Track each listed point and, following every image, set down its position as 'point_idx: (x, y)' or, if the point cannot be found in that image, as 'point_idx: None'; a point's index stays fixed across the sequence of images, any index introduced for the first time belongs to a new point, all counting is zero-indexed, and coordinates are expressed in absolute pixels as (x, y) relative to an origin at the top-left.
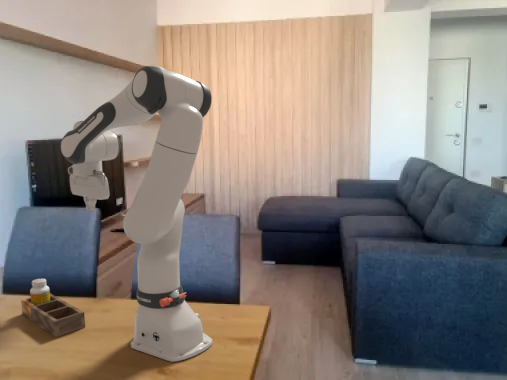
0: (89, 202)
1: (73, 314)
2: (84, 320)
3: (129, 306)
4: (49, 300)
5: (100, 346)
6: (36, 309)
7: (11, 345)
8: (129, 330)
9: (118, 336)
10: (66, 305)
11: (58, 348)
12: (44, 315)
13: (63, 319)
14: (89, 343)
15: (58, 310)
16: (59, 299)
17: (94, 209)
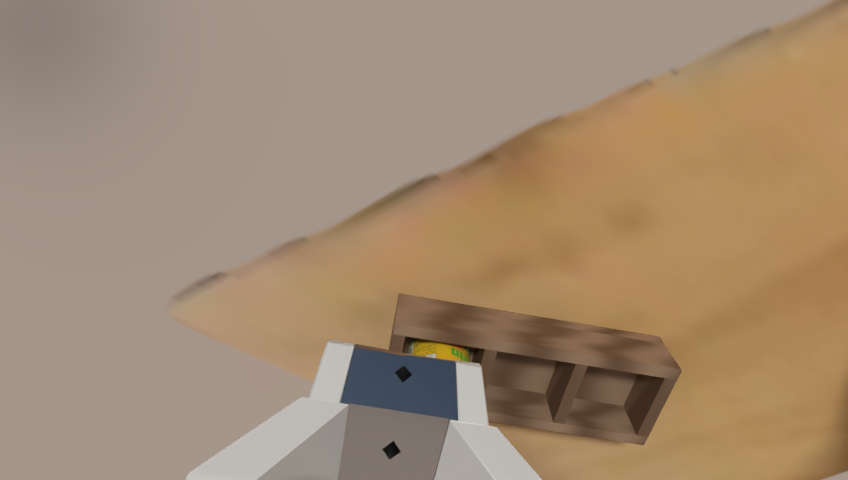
0: (313, 462)
1: (658, 394)
2: (668, 352)
3: (696, 144)
4: (465, 359)
5: (791, 385)
6: (504, 422)
7: (552, 472)
8: (823, 287)
9: (809, 328)
10: (569, 362)
11: (683, 435)
12: (569, 432)
13: (653, 424)
14: (747, 388)
15: (576, 393)
16: (497, 344)
17: (476, 375)
